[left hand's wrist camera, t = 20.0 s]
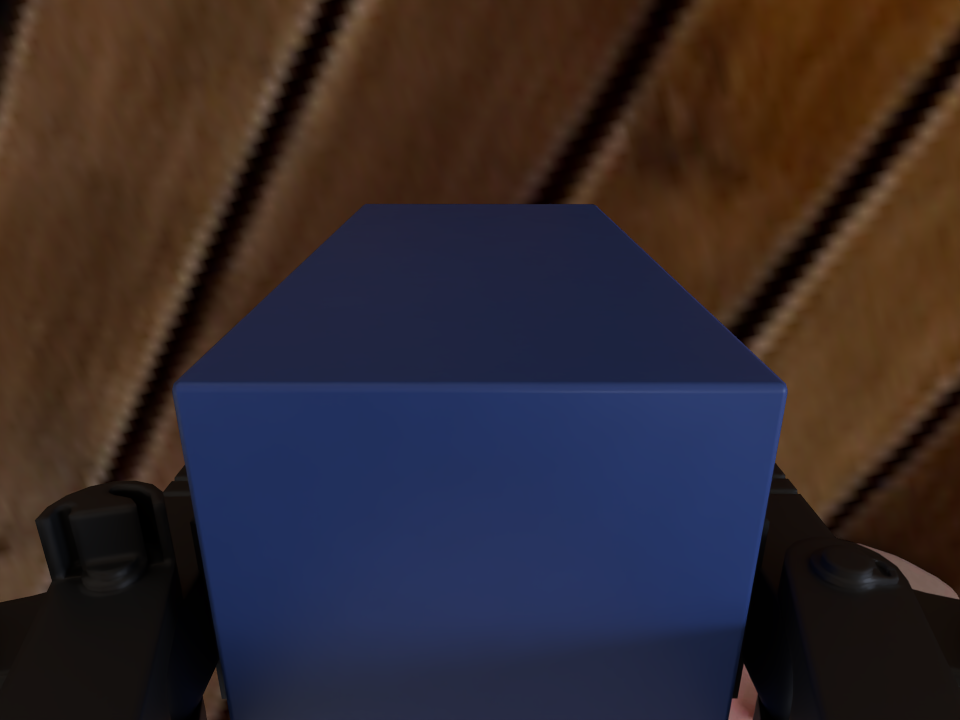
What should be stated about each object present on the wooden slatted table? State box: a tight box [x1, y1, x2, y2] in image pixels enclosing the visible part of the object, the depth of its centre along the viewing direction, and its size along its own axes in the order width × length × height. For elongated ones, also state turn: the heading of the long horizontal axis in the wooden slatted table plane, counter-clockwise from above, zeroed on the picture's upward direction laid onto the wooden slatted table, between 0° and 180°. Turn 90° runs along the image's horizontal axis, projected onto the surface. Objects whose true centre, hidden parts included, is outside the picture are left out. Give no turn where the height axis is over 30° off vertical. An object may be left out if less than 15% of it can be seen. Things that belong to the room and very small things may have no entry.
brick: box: [172, 204, 787, 720], centre depth 12 cm, size 5×8×10 cm
